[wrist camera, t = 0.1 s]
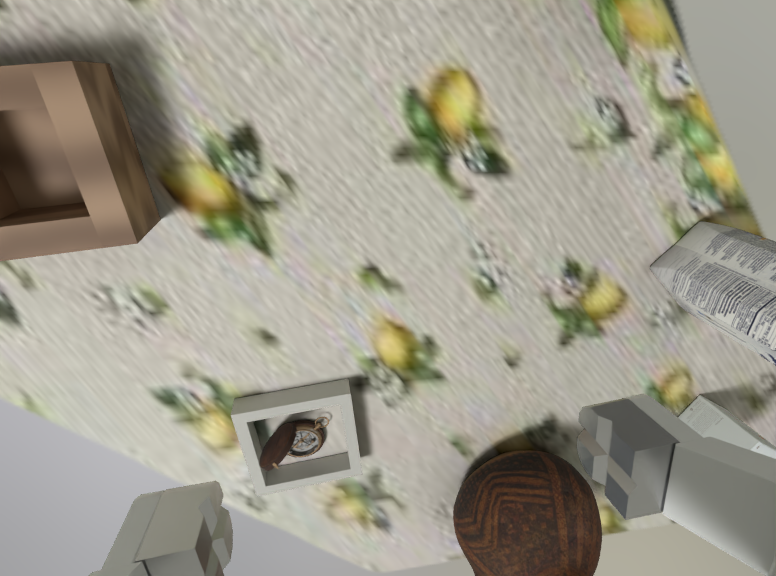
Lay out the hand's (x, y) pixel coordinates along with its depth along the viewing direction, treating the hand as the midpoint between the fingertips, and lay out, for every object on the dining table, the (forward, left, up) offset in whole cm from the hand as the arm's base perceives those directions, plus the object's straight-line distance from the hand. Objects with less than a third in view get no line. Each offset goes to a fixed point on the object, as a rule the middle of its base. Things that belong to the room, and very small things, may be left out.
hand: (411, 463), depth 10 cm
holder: (-3, -24, -39) cm, 46 cm away
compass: (+35, -8, -39) cm, 53 cm away
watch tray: (+35, -8, -39) cm, 53 cm away
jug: (+54, +22, -39) cm, 70 cm away
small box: (+48, +57, -39) cm, 84 cm away
